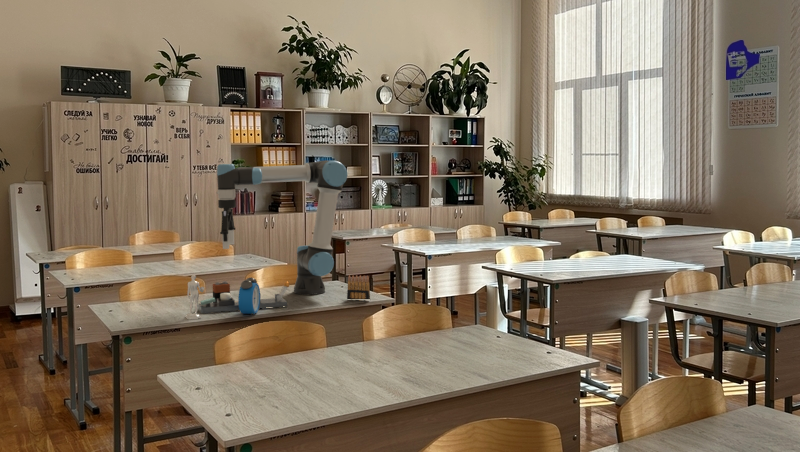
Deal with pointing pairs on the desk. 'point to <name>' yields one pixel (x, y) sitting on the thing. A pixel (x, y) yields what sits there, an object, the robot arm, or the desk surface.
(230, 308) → the panel
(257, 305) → the alarm clock
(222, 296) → the button
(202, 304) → the block
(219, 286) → the battery
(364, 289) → the ammunition clip
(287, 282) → the lever
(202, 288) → the figurine
